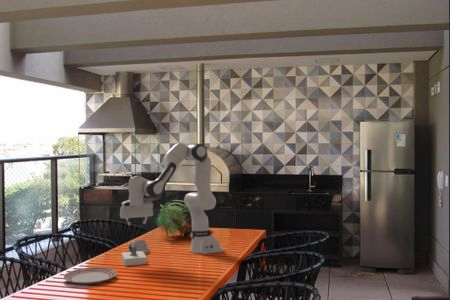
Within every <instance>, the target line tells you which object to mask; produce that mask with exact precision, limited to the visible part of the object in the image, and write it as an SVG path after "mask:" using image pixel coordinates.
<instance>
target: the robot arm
mask: <svg viewBox="0 0 450 300" xmlns="http://www.w3.org/2000/svg"><path fill="white" fill-rule="evenodd" d="M184 160H186V161H193V162H194V165H195V166H194V175H193V184H194V185H195V187H196V191H197V192H196V191H193V192H188V193H186V194H185V196H184V198H183V201H184V202H183V203H184V205H186V206H187V209H188V210H189V211H188V212H189V215H190V219H191V225H192V230H191V235H190V238H191V243H190V248H189V252H190V253H192V254H193V253H194V254H201V255H207V254H214V253H221V252H225V250H224V248H223V247H221V244H220V241H219V240H218V239H217V238H216V237H214V236H213V234H214V231H213V230H210V229H209V217H208V215H207V214H206V213H205V211H208V210H213V209H214V208H215V206H216V205H217V199H216V196H215V195H214V194H213V191H212V187H211V179H212V178H211V175H212V159H211V157H210V156H208V151H207V147H206V146H205V145H204V144H203V143H191V144H184V143H182V142H177V143H175V144H174V145H172V147H171V148H170V149H168V151H167V152H166V153H165V154H164V156H163V157H162V160H161V162H162V166H163V167H164V168H163V170H162V172H161V173H160V174H159V176H158V177H157V178H156V179H155V180H149V179H146V178H145V177H142V175H134V176H131V177H130V178H129V180H128V185H127V186H128V194H129V195H128V199H127V200H125V201H122V202H121V206H120V210H119V217H120V219H125V220H126V222H127V226H131V221H129V219H134V218H144V220H143V221H142V224H143V225H146V224H147V221H148V219H149V218H148V217H153V216H154V210H153V208H154V203H153V202H152V201H144V196H147V197H150V198H154V199H157V198H159V197H161V196H162V195H163V193H164V190H165V188H166V185H167V184H168V183H169V181H170V179H171V178H172V176H173V175H174V173H175V172H176V170H177V168H178V167H179V166H180V164H181V163H182V162H183V161H184Z"/></svg>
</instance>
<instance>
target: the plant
mask: <svg viewBox="0 0 450 300" xmlns="http://www.w3.org/2000/svg"><path fill="white" fill-rule="evenodd" d="M175 201H176V202H175ZM181 202H182V203H184V200H180V199H179V200H178V199H174V200H172V203H171V202H166V203H165V204H164V205H163V204H160V205H159V206H160V207H161V208H160V210H159V212H158V214H157V215H158V216H157V217H155V218H154V220H155V221H154V223H155V224H156V226H157V227H158V229H159V228H160V229H161V231H162V232H164V233H165V238H167V237H168V236H170V235H173V236H174V237H176V235H177V234H179V235H180V236H182V237H183V238H185V239H186V238H188V237H190V236H191V230H192V221H190V218H188V219H187V216H188V214H184V213H185V212H190V211H189V209H188V207H187V206H186V205H185V204H182V203H181ZM177 205H180V207H179V206H177ZM185 218H186V219H185ZM187 221H188V222H187Z"/></svg>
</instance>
